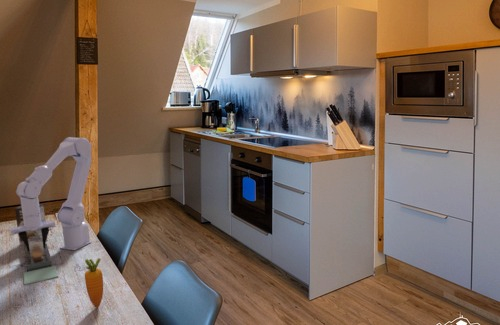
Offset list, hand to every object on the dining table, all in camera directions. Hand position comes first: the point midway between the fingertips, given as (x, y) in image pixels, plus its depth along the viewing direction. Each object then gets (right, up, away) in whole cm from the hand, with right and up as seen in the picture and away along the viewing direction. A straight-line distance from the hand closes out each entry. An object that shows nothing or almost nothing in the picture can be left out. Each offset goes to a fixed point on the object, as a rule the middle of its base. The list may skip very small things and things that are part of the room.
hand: (36, 249), depth 154 cm
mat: (+8, -6, -13) cm, 17 cm away
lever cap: (0, -2, 0) cm, 2 cm away
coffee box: (-11, -2, +19) cm, 22 cm away
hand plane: (0, -4, +1) cm, 4 cm away
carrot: (+36, -9, -36) cm, 52 cm away
